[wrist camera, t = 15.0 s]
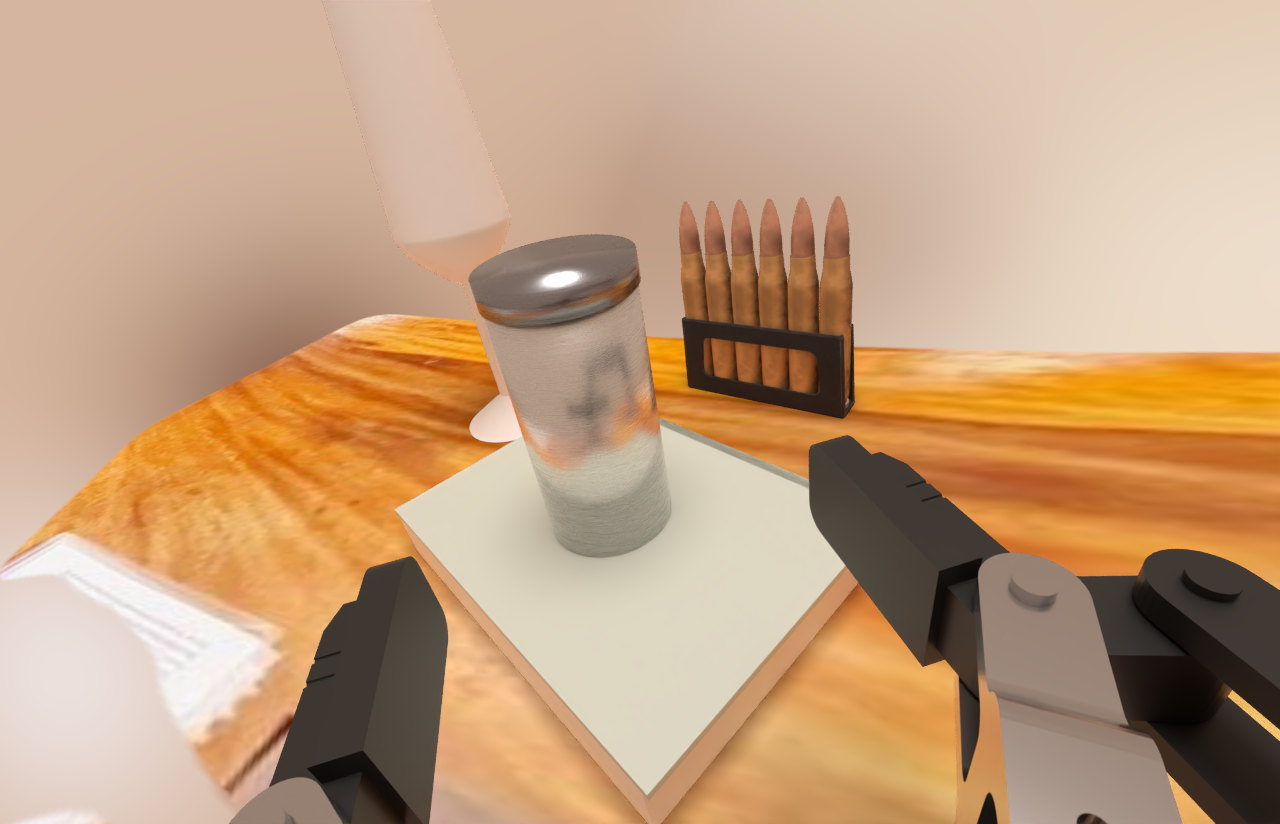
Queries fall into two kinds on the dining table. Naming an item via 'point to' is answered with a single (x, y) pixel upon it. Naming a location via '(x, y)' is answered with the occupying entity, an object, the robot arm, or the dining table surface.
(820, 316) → the ammunition clip
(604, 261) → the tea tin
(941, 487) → the dining table surface
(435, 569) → the book
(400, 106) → the champagne flute
